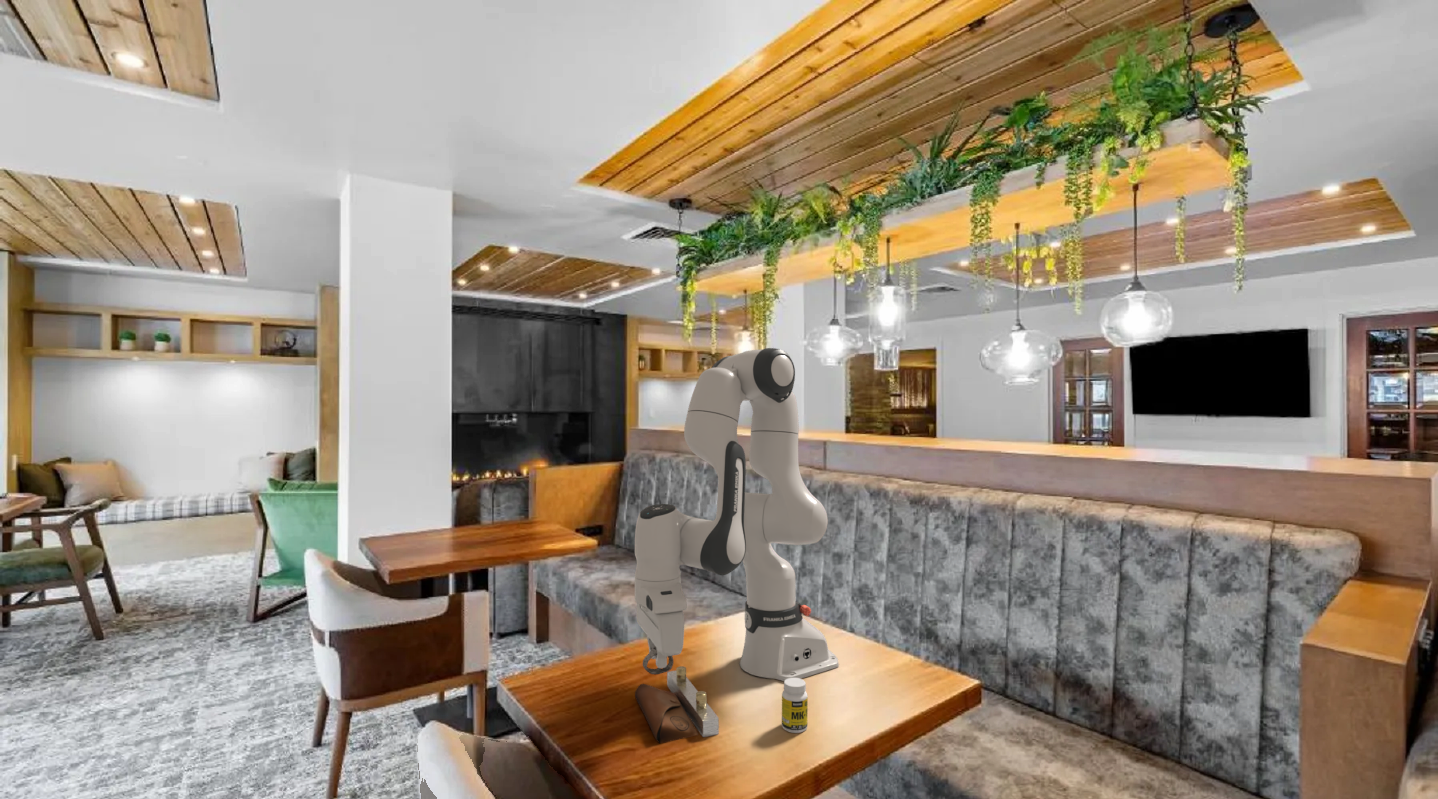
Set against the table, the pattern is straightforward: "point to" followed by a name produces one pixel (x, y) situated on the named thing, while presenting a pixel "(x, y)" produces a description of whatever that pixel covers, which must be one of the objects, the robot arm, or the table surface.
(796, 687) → the supplement bottle
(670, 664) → the wristwatch
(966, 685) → the table surface
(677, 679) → the white board with knobs
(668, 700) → the sunglasses case
